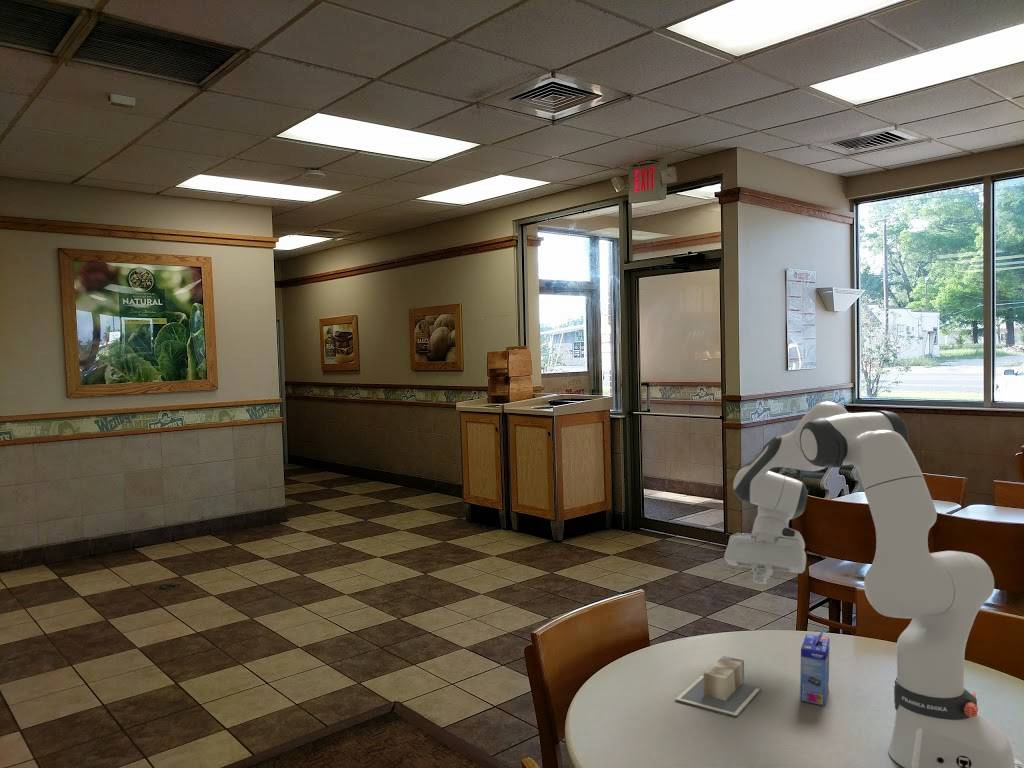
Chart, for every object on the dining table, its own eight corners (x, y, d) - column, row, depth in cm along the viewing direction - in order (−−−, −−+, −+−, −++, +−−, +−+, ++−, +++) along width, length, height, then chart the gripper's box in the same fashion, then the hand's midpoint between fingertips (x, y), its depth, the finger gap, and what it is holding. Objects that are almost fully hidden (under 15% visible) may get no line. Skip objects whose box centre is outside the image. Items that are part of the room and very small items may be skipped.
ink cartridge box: (826, 707, 164) (825, 641, 163) (799, 702, 166) (798, 637, 166) (830, 688, 172) (829, 626, 172) (805, 684, 175) (804, 623, 175)
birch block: (743, 660, 176) (725, 678, 167) (744, 681, 177) (725, 700, 167) (723, 655, 179) (703, 673, 170) (723, 676, 180) (704, 695, 170)
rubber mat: (761, 690, 173) (761, 687, 173) (736, 717, 160) (736, 715, 160) (703, 675, 181) (703, 673, 181) (675, 701, 168) (675, 698, 168)
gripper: (727, 525, 202) (715, 571, 195) (805, 532, 190) (796, 581, 183) (734, 538, 206) (723, 583, 199) (811, 545, 194) (802, 594, 186)
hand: (759, 582), depth 190 cm, fingers closed
